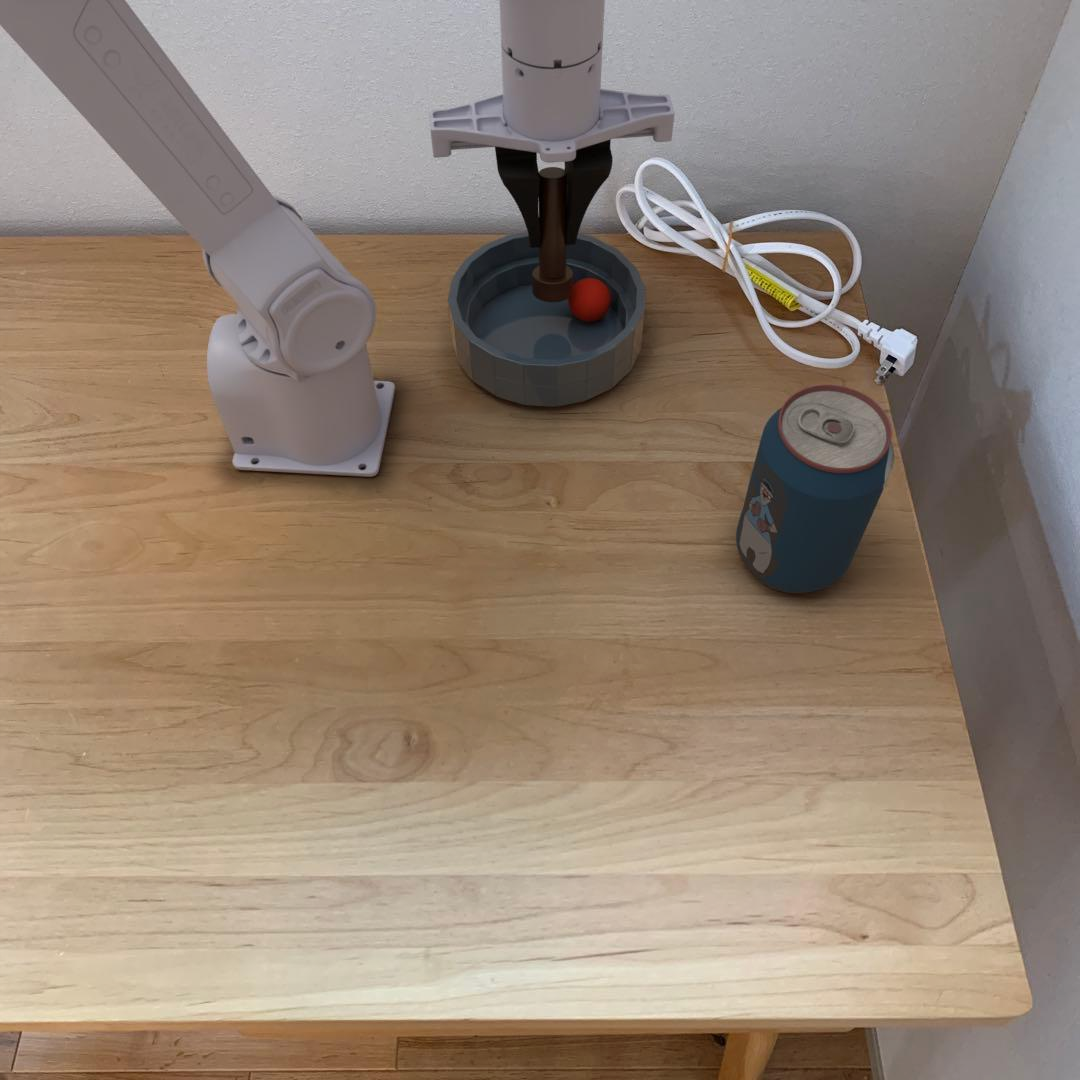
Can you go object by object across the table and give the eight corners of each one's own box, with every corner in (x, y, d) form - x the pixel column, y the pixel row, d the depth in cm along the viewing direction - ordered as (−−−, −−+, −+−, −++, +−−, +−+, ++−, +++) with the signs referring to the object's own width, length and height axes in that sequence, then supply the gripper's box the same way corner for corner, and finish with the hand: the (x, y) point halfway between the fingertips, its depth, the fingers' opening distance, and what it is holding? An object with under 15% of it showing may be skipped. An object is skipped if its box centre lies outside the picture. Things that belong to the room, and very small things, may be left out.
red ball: (554, 293, 71) (587, 265, 70) (568, 300, 74) (600, 273, 73) (578, 327, 71) (611, 299, 70) (591, 332, 74) (624, 306, 73)
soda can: (864, 536, 63) (922, 406, 53) (822, 621, 60) (877, 499, 50) (759, 492, 65) (797, 358, 55) (714, 572, 62) (745, 444, 52)
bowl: (443, 407, 69) (436, 360, 66) (465, 274, 77) (460, 225, 73) (638, 417, 69) (643, 370, 65) (641, 282, 76) (646, 233, 72)
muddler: (524, 296, 70) (522, 176, 64) (545, 278, 72) (544, 159, 66) (560, 306, 69) (560, 185, 63) (580, 288, 71) (582, 169, 65)
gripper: (424, 90, 55) (445, 285, 66) (693, 72, 55) (668, 268, 67) (419, 18, 59) (440, 214, 70) (670, 3, 59) (650, 199, 71)
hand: (551, 236), depth 69 cm, fingers closed on muddler, 2 cm apart
